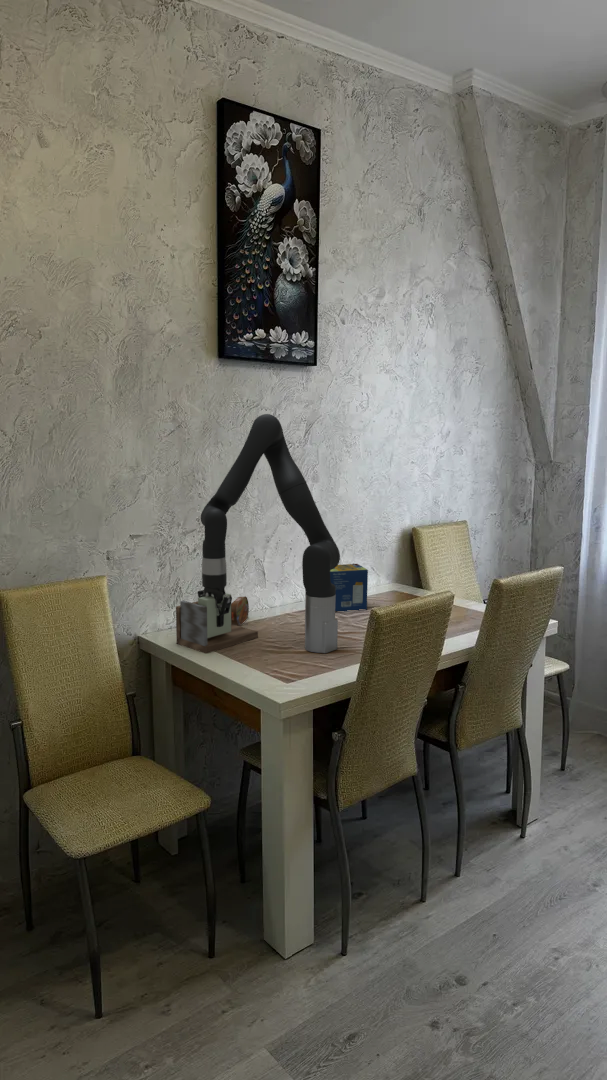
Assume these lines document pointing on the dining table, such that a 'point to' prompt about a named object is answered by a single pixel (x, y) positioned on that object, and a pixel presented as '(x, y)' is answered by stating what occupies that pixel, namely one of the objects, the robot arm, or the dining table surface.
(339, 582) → the protein box
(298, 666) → the dining table surface
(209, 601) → the sage green tall block
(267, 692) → the dining table surface
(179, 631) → the bookshelf
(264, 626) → the dining table surface
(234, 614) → the tin
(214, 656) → the dining table surface
